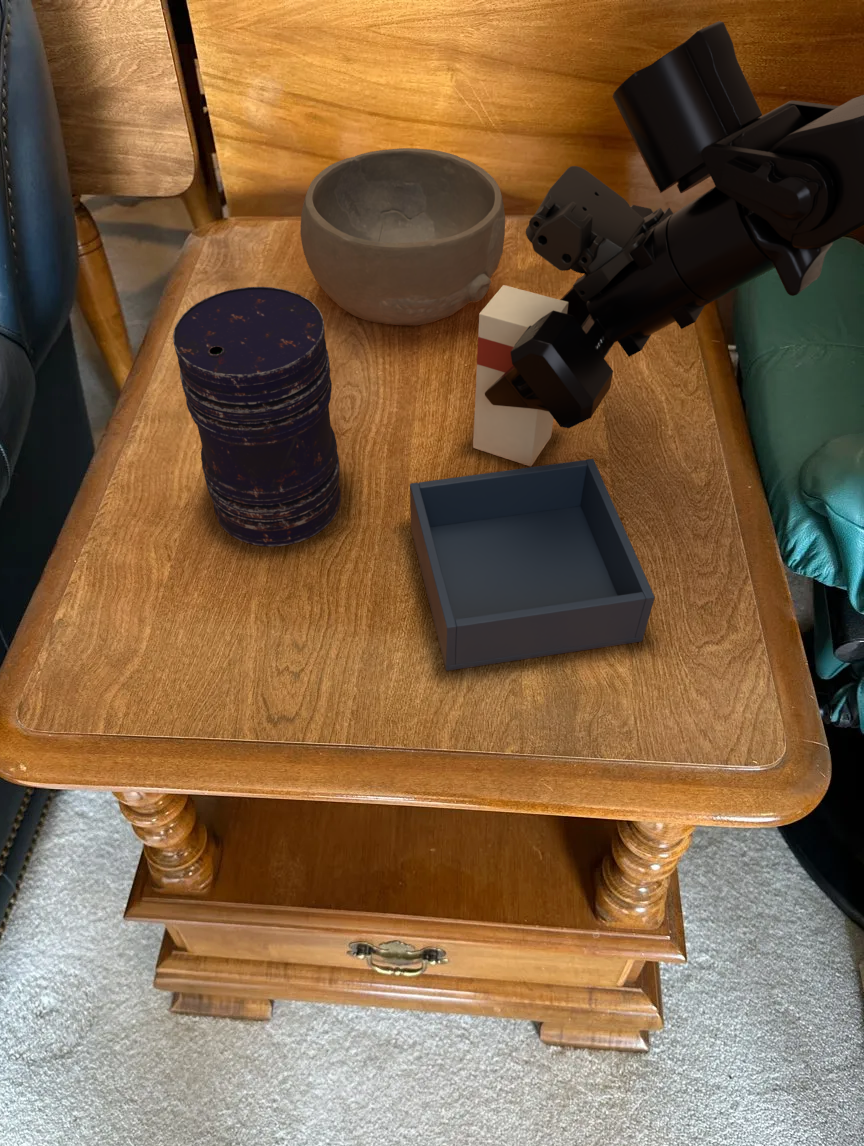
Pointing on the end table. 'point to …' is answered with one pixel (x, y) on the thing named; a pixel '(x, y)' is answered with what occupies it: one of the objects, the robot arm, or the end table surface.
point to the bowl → (403, 234)
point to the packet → (499, 331)
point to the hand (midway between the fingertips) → (515, 362)
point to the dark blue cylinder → (262, 412)
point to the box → (527, 564)
